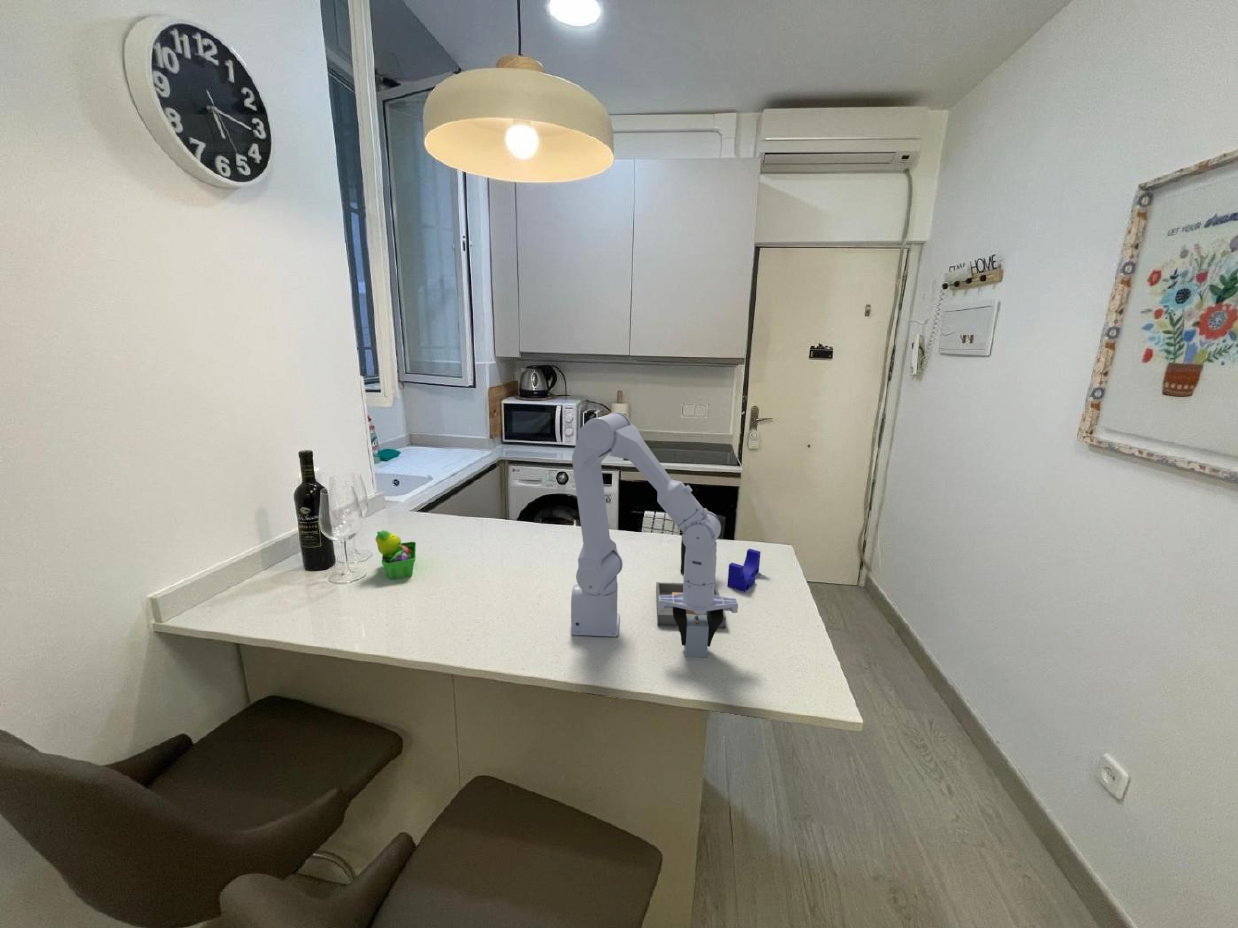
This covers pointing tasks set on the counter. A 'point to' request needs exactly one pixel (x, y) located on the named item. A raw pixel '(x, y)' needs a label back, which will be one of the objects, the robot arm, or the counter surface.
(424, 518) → the counter surface
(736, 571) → the cable clip
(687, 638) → the connector plug
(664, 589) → the box
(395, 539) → the fruit basket
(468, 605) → the counter surface
